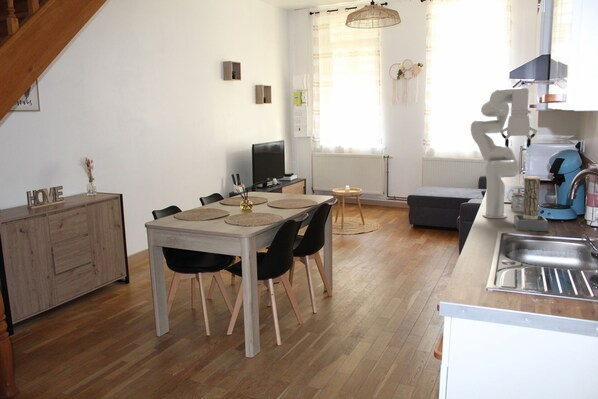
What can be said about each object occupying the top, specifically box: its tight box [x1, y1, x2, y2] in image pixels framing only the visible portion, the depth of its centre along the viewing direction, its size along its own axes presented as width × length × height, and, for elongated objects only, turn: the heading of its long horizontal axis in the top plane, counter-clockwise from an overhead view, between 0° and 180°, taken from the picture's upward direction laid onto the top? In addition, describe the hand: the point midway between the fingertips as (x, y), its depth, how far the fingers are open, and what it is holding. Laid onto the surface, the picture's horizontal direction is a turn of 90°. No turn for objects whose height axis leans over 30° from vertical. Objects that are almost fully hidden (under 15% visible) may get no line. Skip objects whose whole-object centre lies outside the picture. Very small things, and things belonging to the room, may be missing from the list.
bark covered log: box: [522, 175, 541, 221], centre depth 247 cm, size 7×7×25 cm
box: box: [513, 214, 549, 232], centre depth 248 cm, size 14×14×5 cm
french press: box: [506, 167, 525, 212], centre depth 292 cm, size 10×12×25 cm
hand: (517, 147), depth 249 cm, fingers open, 9 cm apart
